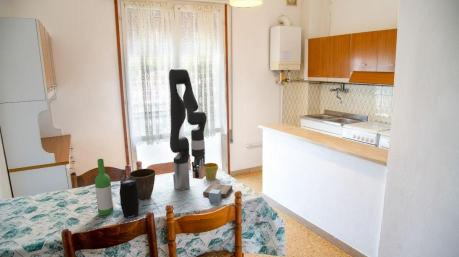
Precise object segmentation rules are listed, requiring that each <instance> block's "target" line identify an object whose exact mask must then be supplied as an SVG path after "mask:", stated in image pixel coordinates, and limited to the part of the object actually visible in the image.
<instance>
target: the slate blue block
mask: <svg viewBox="0 0 459 257" xmlns="http://www.w3.org/2000/svg"><path fill="white" fill-rule="evenodd" d="M221 200H222V198H221V190H215V189H212V190H211V191H210V192H209V196H208V202H211V203H219V202H220V201H221Z"/></svg>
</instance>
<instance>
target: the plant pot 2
mask: <svg viewBox="0 0 459 257" xmlns="http://www.w3.org/2000/svg"><path fill="white" fill-rule="evenodd" d="M204 167H205V179H206V180H207V181H213V180H216V177H217V172H218V170H219V165H218V163H216V162H208V163H207V162H205V166H204Z"/></svg>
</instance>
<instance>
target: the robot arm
mask: <svg viewBox="0 0 459 257" xmlns="http://www.w3.org/2000/svg"><path fill="white" fill-rule="evenodd" d="M168 83H169V84H168V85H169V92H170V94H169V95H170V96H169V97H170V106H169V107H170V109H169V111H170V135H169V137H170V138H169V147H170V151H171V152H172V153H174V154H177V155H175V157H174V158H173V169H174V170H173V172H174V173H173V175H172V177H173V178H172V179H173V189H175V190H177V191H185V190H188V189H190V171H189V170H190V166H189V160H190V152H191V156H192V157H193V161H191V168H192V169H191V170H193V171H192V173H193V172H195V178H199V168H200V166H202V167H204V166H205V164H206V147H205V146H206V143H205V128H206V124H207V118H208V117H207V114H206V113H205V111H198V110H199V104H198V101H197V99H196V97H195V94H194V90H193V86H192V81H191V77H190V75H189V71H188V70H187V69H186V68H171V69H169V72H168ZM177 85H183V86H184V87H185V88H184V92H183V95H182V98H181V95H180V94H179V91H178V87H177ZM185 120H187V123H188V125H190V126H196V127H195V128H192V129H191V130H190V135H191V136H190V138H191V142H189V139H188V138H187V136H184V135H183V136H182V135H181V136H180V132H181V129H182V126H183V125H184V122H185ZM190 148H191V149H190ZM190 150H191V151H190ZM197 168H198V169H197ZM195 178H194V179H195Z"/></svg>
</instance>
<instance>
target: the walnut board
mask: <svg viewBox="0 0 459 257" xmlns="http://www.w3.org/2000/svg"><path fill="white" fill-rule="evenodd" d="M212 189H215V190H221V199H226V198H227V197H228V196H229V195H230V193H231V192H232V190H233V185H229V184H219V183H210V185H208V186H207V188H205V190H203V192H202V194H203V195H202V196H203V197H209V192H210V191H211V190H212Z"/></svg>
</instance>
